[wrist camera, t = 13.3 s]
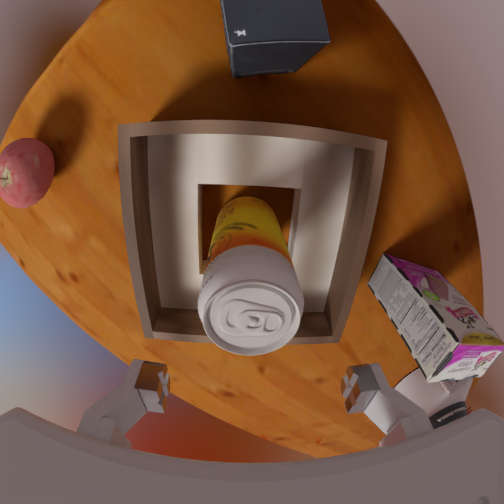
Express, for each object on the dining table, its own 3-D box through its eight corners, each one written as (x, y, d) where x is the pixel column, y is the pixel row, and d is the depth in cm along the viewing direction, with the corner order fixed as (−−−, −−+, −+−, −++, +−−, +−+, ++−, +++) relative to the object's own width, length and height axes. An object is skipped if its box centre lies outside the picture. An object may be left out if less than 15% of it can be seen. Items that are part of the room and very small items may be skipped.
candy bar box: (438, 268, 31) (508, 344, 17) (421, 297, 33) (481, 378, 19) (382, 249, 30) (462, 344, 15) (364, 284, 32) (425, 387, 17)
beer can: (221, 189, 26) (199, 266, 13) (282, 200, 27) (322, 283, 13) (213, 245, 29) (192, 353, 15) (269, 254, 29) (290, 363, 16)
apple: (28, 131, 21) (-17, 142, 14) (70, 136, 22) (23, 146, 15) (24, 189, 24) (-18, 210, 17) (64, 199, 25) (22, 225, 18)
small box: (300, 73, 21) (337, 45, 12) (231, 79, 21) (224, 50, 12) (284, -13, 16) (304, -68, 7) (217, -8, 16) (206, -64, 7)
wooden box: (353, 134, 24) (387, 140, 17) (323, 303, 33) (338, 342, 26) (148, 123, 23) (118, 125, 16) (160, 297, 31) (145, 337, 25)
